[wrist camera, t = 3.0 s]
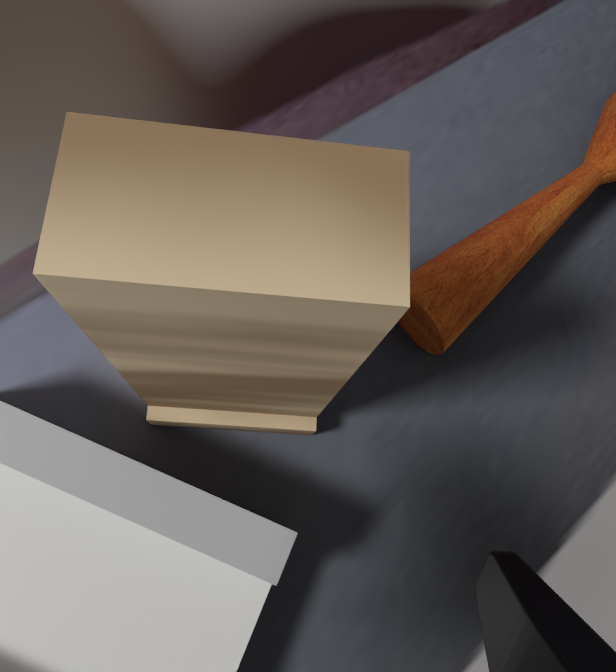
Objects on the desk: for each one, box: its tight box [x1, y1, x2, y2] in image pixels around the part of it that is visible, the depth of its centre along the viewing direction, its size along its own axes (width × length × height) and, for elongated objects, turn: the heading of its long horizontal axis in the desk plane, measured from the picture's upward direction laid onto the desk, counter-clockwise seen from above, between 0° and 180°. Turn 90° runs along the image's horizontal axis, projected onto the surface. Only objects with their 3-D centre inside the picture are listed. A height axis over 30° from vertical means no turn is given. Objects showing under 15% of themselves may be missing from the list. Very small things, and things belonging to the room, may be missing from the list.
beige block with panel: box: [33, 112, 410, 435], centre depth 16 cm, size 4×6×13 cm, turn 88°
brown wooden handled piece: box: [397, 91, 616, 356], centre depth 24 cm, size 6×6×20 cm
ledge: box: [0, 401, 298, 672], centre depth 18 cm, size 9×12×4 cm
